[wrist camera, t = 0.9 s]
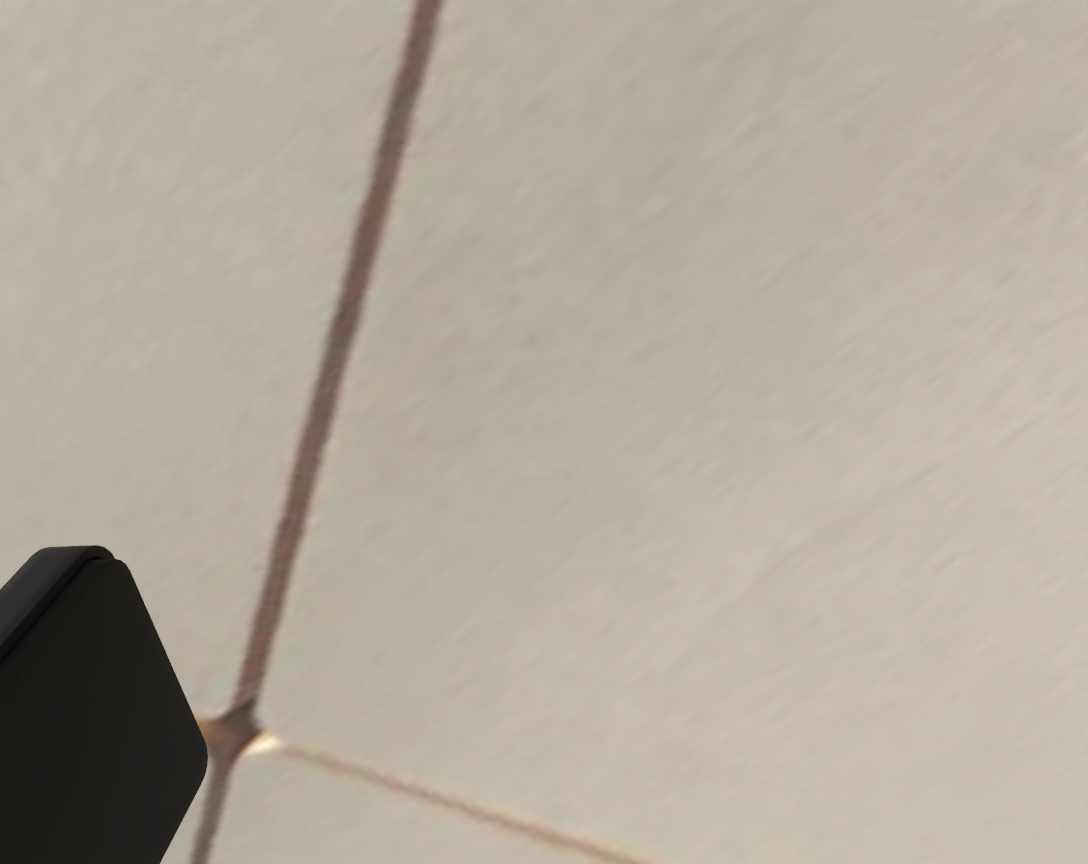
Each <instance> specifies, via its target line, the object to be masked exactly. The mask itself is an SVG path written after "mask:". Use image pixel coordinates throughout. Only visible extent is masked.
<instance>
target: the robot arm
mask: <svg viewBox="0 0 1088 864" xmlns="http://www.w3.org/2000/svg"><path fill="white" fill-rule="evenodd" d="M207 760H208V754H207V747H206V743H205V740H204V738H203V736H202V734H201V731H200V729H199V727H198V725H197V722H196V720H195V718H194V715H193V713H192V711H191V709H190V706H189V704H188V702H187V700H186V697H185V695H184V693H183V690H182V688H181V686H180V684H179V681H178V679H177V677H176V675H175V672H174V670H173V668H172V665H171V663H170V661H169V659H168V656H167V654H166V652H165V649H164V647H163V645H162V643H161V640H160V638H159V636H158V634H157V631H156V629H155V627H154V624H153V622H152V620H151V618H150V615H149V613H148V611H147V609H146V606H145V604H144V602H143V599H142V597H141V595H140V593H139V590H138V588H137V586H136V584H135V581H134V579H133V577H132V574H131V572H130V570H129V569H128V567H127V565H126V564H125V563H123V562H122V561H121V560H117V559H115V558H114V556H113V555H112V553H111V552H110V551H108V550H107V549H106V548H105V547H101V546H96V545H95V546H68V547H48V548H44V549H40V550H39V551H38V552H36V553H35V554H34V555H32V556H31V557H30V558H29V559H28V561H27V562H26V563H25V564H24V565H23V566H22V567H21V568H20V569H19V570H18V571H17V572H16V573H15V574H14V575H13V577H12V578H11V579H10V580H9V581H8V582H7V583H6V584H5V585H4V586H3V587H2V588H1V589H0V864H160V862H161V860H162V858H163V856H164V854H165V852H166V850H167V849H168V847H169V845H170V843H171V841H172V839H173V837H174V835H175V833H176V831H177V829H178V827H179V826H180V824H181V822H182V820H183V818H184V816H185V814H186V812H187V810H188V808H189V806H190V804H191V802H192V801H193V799H194V797H195V795H196V793H197V791H198V789H199V787H200V785H201V783H202V781H203V779H204V776H205V773H206V768H207Z"/></svg>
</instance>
